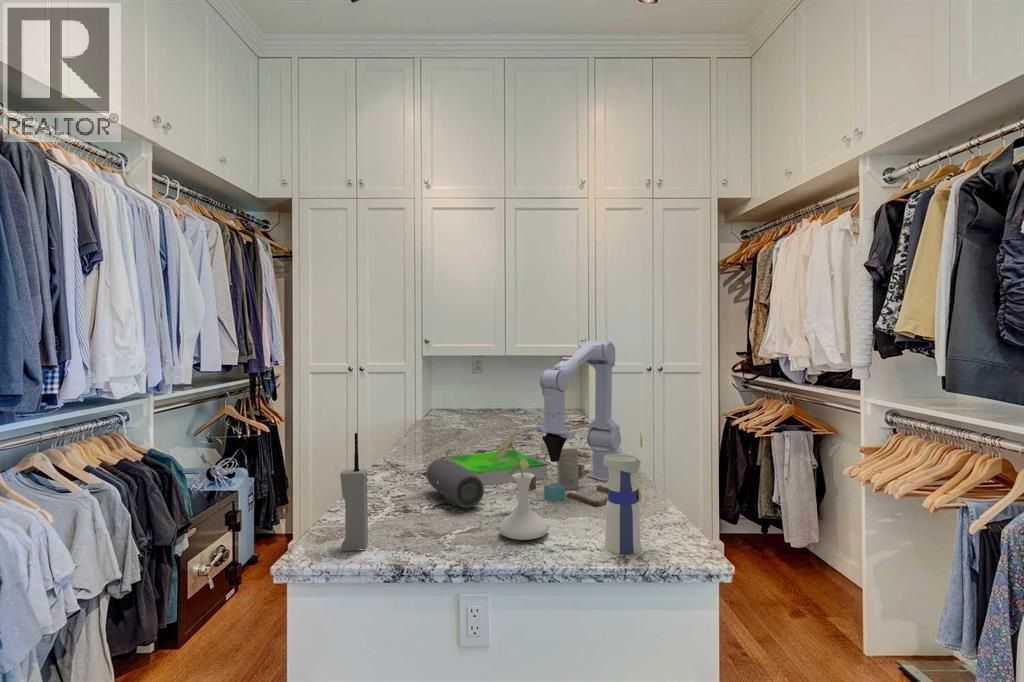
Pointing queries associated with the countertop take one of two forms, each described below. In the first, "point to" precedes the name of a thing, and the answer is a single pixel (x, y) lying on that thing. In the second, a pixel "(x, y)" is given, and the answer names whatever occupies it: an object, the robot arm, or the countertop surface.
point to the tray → (498, 466)
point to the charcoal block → (579, 470)
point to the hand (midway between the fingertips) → (554, 461)
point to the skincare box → (568, 467)
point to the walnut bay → (590, 501)
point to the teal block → (554, 492)
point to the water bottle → (623, 504)
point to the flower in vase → (521, 502)
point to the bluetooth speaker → (455, 483)
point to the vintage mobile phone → (355, 505)
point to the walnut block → (532, 483)
